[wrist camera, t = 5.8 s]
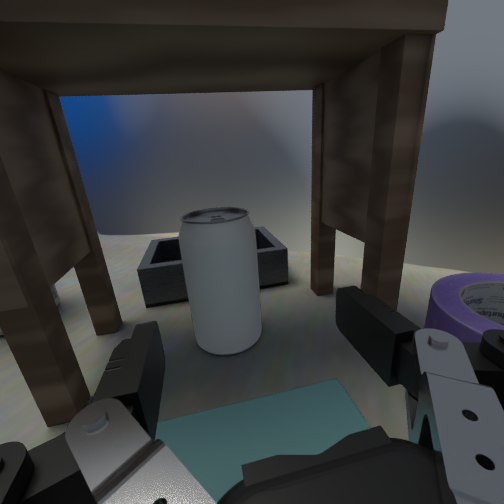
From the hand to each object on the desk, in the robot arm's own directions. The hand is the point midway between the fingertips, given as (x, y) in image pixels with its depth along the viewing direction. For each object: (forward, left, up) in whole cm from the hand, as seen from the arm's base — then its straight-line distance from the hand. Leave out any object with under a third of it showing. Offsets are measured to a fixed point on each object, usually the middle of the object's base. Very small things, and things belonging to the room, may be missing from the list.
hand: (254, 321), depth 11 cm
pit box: (-9, +24, -9) cm, 28 cm away
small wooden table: (-4, +11, -9) cm, 15 cm away
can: (-4, +11, -10) cm, 15 cm away
